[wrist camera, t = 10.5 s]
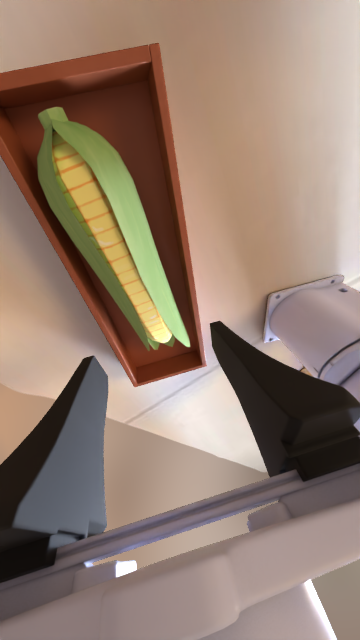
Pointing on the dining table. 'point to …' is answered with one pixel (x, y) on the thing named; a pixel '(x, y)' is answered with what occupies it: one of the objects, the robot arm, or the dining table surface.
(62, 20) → the dining table surface
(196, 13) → the dining table surface
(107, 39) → the dining table surface
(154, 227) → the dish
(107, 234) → the edible corn
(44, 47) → the dining table surface
